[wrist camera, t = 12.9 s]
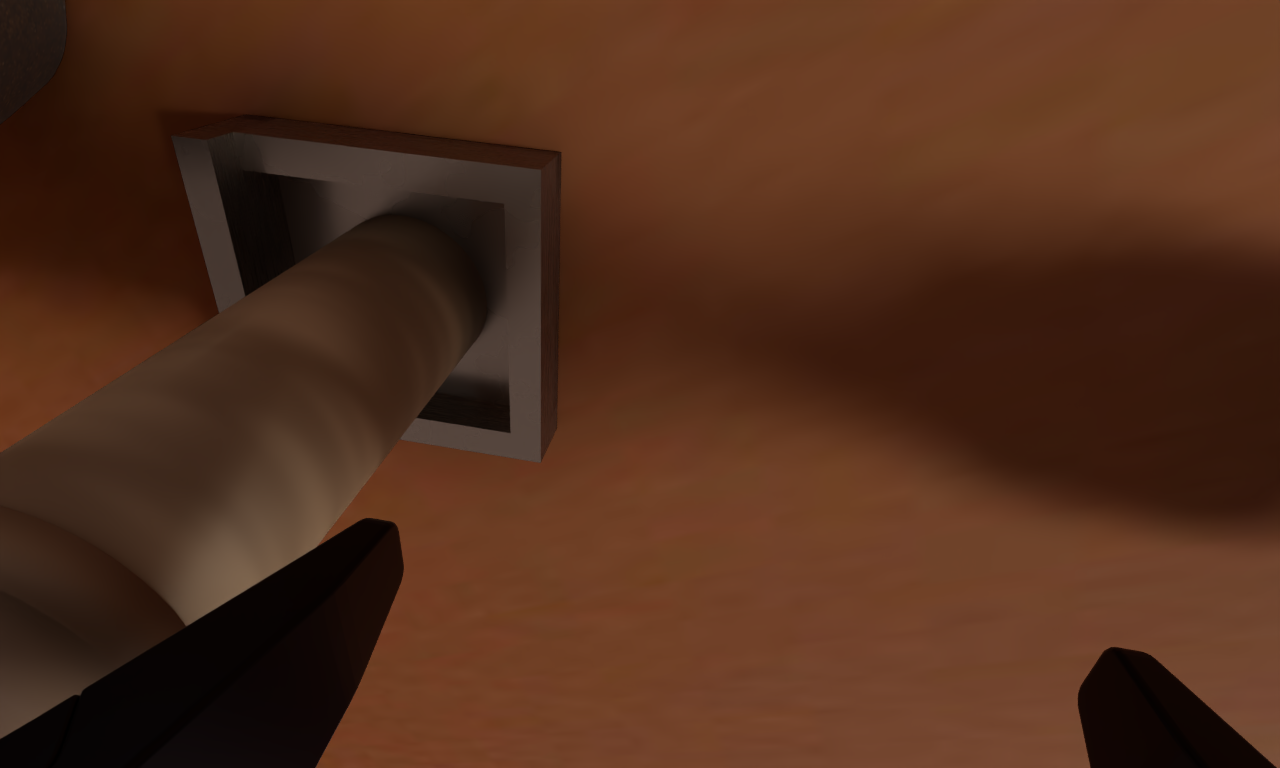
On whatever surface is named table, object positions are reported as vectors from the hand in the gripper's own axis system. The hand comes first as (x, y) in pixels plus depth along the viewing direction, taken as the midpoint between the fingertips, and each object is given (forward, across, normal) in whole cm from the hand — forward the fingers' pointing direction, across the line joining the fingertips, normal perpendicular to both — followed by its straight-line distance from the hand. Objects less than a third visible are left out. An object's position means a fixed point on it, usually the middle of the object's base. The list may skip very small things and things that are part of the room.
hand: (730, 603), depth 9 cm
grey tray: (+13, +10, +3) cm, 17 cm away
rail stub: (+13, +10, +3) cm, 17 cm away
